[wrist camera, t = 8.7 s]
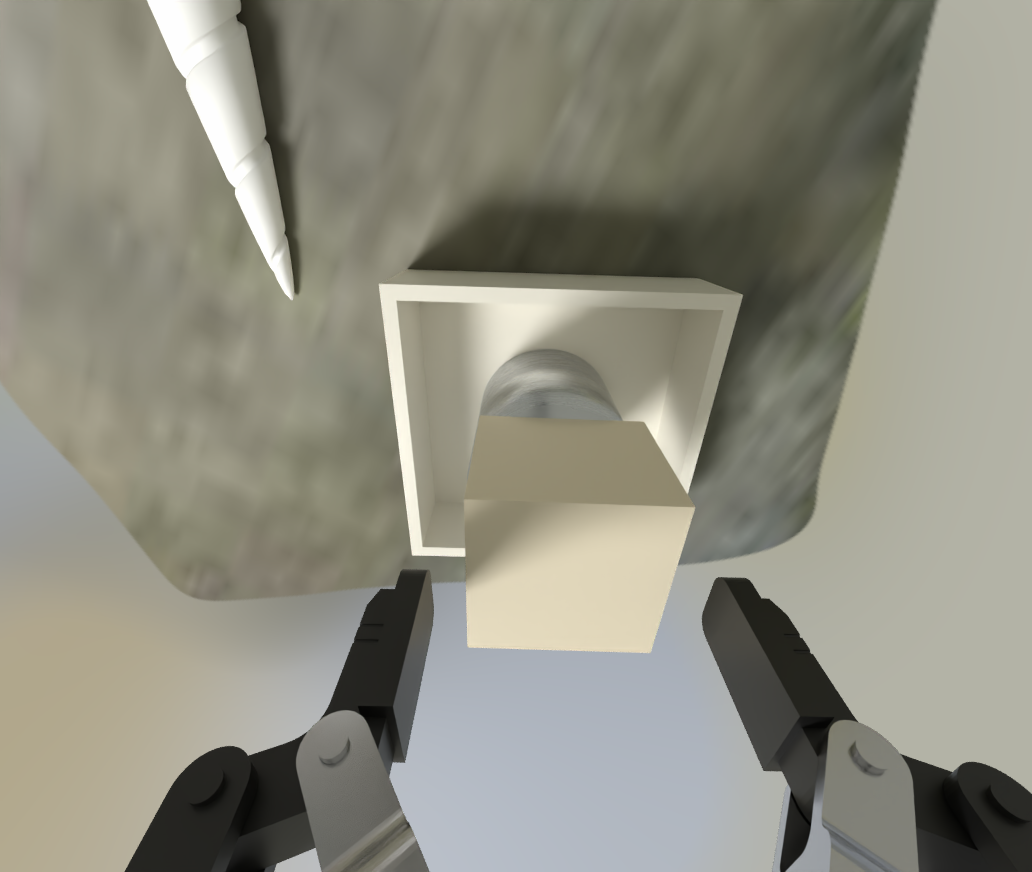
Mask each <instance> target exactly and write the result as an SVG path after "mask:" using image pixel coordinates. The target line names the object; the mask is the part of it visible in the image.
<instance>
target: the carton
mask: <svg viewBox="0 0 1032 872" xmlns="http://www.w3.org/2000/svg"><path fill="white" fill-rule="evenodd" d="M694 510H695V506H694V504H693V503H692V501H691V499H690V498H689V496H688V494H687V493H686V491H685V489H684V488H683V486H682V484H681V483H680V481H679V479H678V478H677V476H676V474H675V473H674V471H673V469H672V468H671V466H670V464H669V463H668V461H667V459H666V458H665V456H664V454H663V453H662V451H661V449H660V448H659V446H658V444H657V443H656V441H655V439H654V438H653V436H652V434H651V432H650V431H649V429H648V427H647V426H646V424H645V422H641V421H615V420H611V421H609V420H583V419H557V418H531V417H509V416H483V415H480V417H479V423H478V428H477V433H476V438H475V444H474V449H473V454H472V459H471V464H470V470H469V475H468V480H467V485H466V491H465V496H464V524H465V564H466V601H467V642H468V647H471V648H504V649H506V648H507V649H536V650H537V649H538V650H570V651H572V650H573V651H602V652H603V651H604V652H635V653H650V652H651V650H652V646H653V643H654V640H655V636H656V633H657V630H658V627H659V624H660V620H661V617H662V614H663V611H664V607H665V604H666V601H667V598H668V594H669V591H670V588H671V584H672V581H673V578H674V574H675V572H676V568H677V565H678V562H679V559H680V555H681V552H682V549H683V546H684V542H685V539H686V536H687V533H688V529H689V526H690V523H691V520H692V516H693V513H694Z"/></svg>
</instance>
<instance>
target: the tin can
mask: <svg viewBox="0 0 1032 872" xmlns="http://www.w3.org/2000/svg"><path fill="white" fill-rule="evenodd" d="M480 415H483V416H509V417H531V418H557V419H583V420H609V421H611V420H615V421H623V419H622V417H621V415H620V413H619V411H618V409H617V407H616V405H615V403H614V401H613V399H612V397H611V395H610V393H609V391H608V389H607V387H606V385H605V383H604V381H603V380H602V378H601V376H600V375H599V373H598V372H597V371H596V370H595V369H594V368H593V367H592V366H591V365H590V364H589V363H588V362H586V361H585V360H584V359H582V358H580V357H578V356H577V355H575V354H572V353H569V352H566V351H562V350H556V349H538V350H532V351H528V352H525V353H522V354H520V355H517V356H515V357H513V358H512V359H510V360H508V361H507V362H506V363H504V364H503V365H502V366H501V367H500V368H499V369H498V370H497V371H496V372H495V373H494V374H493V376H492V377H491V378H490V380H489V382H488V384H487V385H486V388H485V390H484V393H483V397H482V402H481V407H480V412H479V417H480ZM479 417H478V422H477V427H476V432H475V437H474V443H473V448H472V453H471V458H470V463H469V468H468V473H467V480H468V475H469V470H470V464H471V459H472V454H473V449H474V444H475V438H476V433H477V428H478V423H479Z"/></svg>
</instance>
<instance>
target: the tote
mask: <svg viewBox="0 0 1032 872" xmlns="http://www.w3.org/2000/svg"><path fill="white" fill-rule="evenodd" d="M379 289H380V297H381V305H382V313H383V321H384V329H385V337H386V345H387V354H388V362H389V370H390V378H391V386H392V394H393V402H394V410H395V418H396V427H397V435H398V443H399V451H400V459H401V467H402V475H403V483H404V491H405V500H406V508H407V516H408V524H409V532H410V540H411V548H412V555H425V556H465V524H464V496H465V491H466V485H467V473H468V468H469V463H470V458H471V453H472V448H473V443H474V437H475V432H476V427H477V422H478V417H479V412H480V407H481V402H482V397H483V393H484V390H485V388H486V385H487V384H488V382H489V380H490V378H491V377H492V376H493V374H494V373H495V372H496V371H497V370H498V369H499V368H500V367H501V366H502V365H503V364H504V363H506V362H507V361H508V360H510V359H512V358H513V357H515V356H517V355H520V354H522V353H525V352H528V351H532V350H538V349H556V350H562V351H566V352H569V353H572V354H575V355H577V356H578V357H580V358H582V359H584V360H585V361H586V362H588V363H589V364H590V365H591V366H592V367H593V368H594V369H595V370H596V371H597V372H598V373H599V375H600V376H601V378H602V380H603V381H604V383H605V385H606V387H607V389H608V391H609V393H610V395H611V397H612V399H613V401H614V403H615V405H616V407H617V409H618V411H619V413H620V415H621V417H622V419H623V421H641V422H645V424H646V426H647V427H648V429H649V431H650V432H651V434H652V436H653V438H654V439H655V441H656V443H657V444H658V446H659V448H660V449H661V451H662V453H663V454H664V456H665V458H666V459H667V461H668V463H669V464H670V466H671V468H672V469H673V471H674V473H675V474H676V476H677V478H678V479H679V481H680V483H681V484H682V486H683V488H684V489H685V491H686V493H687V494H688V491H689V488H690V484H691V481H692V477H693V473H694V470H695V466H696V463H697V459H698V455H699V452H700V448H701V445H702V441H703V437H704V434H705V430H706V427H707V423H708V419H709V416H710V412H711V409H712V405H713V401H714V398H715V394H716V391H717V387H718V383H719V380H720V376H721V373H722V369H723V365H724V362H725V358H726V355H727V351H728V348H729V344H730V340H731V337H732V333H733V330H734V326H735V322H736V319H737V315H738V312H739V308H740V304H741V301H742V297H743V295H742V294H739V293H737V292H734V291H731V290H729V289H726V288H723V287H721V286H718V285H715V284H713V283H710V282H707V281H705V280H702V279H699V278H673V277H641V276H608V275H575V274H542V273H510V272H477V271H444V270H411V269H407V270H405V271H403V272H401V273H399V274H397V275H395V276H393V277H391V278H389V279H387V280H385V281H383V282H382V283H380V284H379Z"/></svg>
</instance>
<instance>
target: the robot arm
mask: <svg viewBox="0 0 1032 872" xmlns="http://www.w3.org/2000/svg"><path fill="white" fill-rule="evenodd" d="M433 616H434V604H433V594H432V585H431V575H430V571H429V570H417V569H403V570H402V571H401V572H400V575H399V578H398V581H397V584H396V587H395V589H380V591H379V592H378V593H377V594H376V595H375V596H374V598H373V599H372V600H371V601H370V602H369V603H368V604H367V607H366V609H365V612H364V615H363V618H362V620H361V622H360V627H359V628H358V630H357V633H356V636H355V638H354V643H353V644H352V647H351V649H350V652H349V655H348V657H347V660H346V662H345V665H344V668H343V670H342V673H341V676H340V678H339V681H338V683H337V686H336V689H335V691H334V694H333V697H332V699H331V702H330V704H329V707H328V708H327V710H326V712H325V713H324V715H323V716H322V718H321V719H320V720H319V721H318V722H317V723H316V724H315V725H313V726H312V728H311V729H310V730H309V731H308V732H306V733H305V734H304V735H302V736H300V737H299V738H297V739H295V740H293V741H290V742H288V743H285V744H283V745H279V746H276V747H274V748H270V749H267V750H264V751H261V752H258V753H255V754H252V755H249V756H248V755H247V754H246V752H244V750H242V749H240V748H238V747H234V746H225V747H220V748H217V749H214V750H212V751H209V752H207V753H206V754H204V755H202V756H200V757H199V758H198V759H196V760H195V761H194V762H192V763H191V764H190V765H189V766H188V767H187V768H186V769H185V770H184V771H183V772H182V773H181V774H180V775H179V777H178V778H177V779H176V781H175V782H174V783H173V785H172V786H171V788H170V790H169V791H168V793H167V795H166V797H165V799H164V800H163V802H162V804H161V806H160V808H159V810H158V812H157V813H156V815H155V817H154V819H153V821H152V822H151V824H150V826H149V828H148V830H147V832H146V833H145V835H144V837H143V839H142V841H141V843H140V844H139V846H138V848H137V850H136V852H135V854H134V855H133V857H132V859H131V861H130V863H129V865H128V867H127V868H126V870H125V872H274V870H275V867H276V864H277V863H279V862H282V861H284V860H287V859H289V858H292V857H294V856H296V855H299V854H301V853H303V852H306V851H309V850H311V849H313V848H316V850H317V855H318V859H319V863H320V867H321V871H322V872H429V869H428V867H427V864H426V862H425V859H424V857H423V854H422V852H421V850H420V847H419V845H418V842H417V840H416V837H415V835H414V833H413V831H412V829H411V826H410V825H409V822H408V821H407V820H406V818H405V815H404V813H403V811H402V808H401V806H400V803H399V801H398V798H397V796H396V794H395V791H394V788H393V786H392V783H391V781H390V778H389V775H390V770H391V766H392V762H400V763H401V762H404V763H405V760H406V755H407V749H408V745H409V740H410V735H411V730H412V725H413V720H414V715H415V710H416V705H417V700H418V696H419V691H420V686H421V681H422V676H423V671H424V666H425V661H426V656H427V651H428V646H429V641H430V636H431V631H432V626H433ZM702 625H703V631H704V634H705V637H706V639H707V642H708V644H709V646H710V648H711V651H712V653H713V655H714V658H715V660H716V662H717V665H718V666H719V669H720V672H721V674H722V676H723V678H724V681H725V683H726V685H727V688H728V690H729V692H730V695H731V697H732V699H733V702H734V704H735V706H736V708H737V711H738V713H739V715H740V718H741V720H742V722H743V725H744V727H745V729H746V731H747V734H748V736H749V738H750V741H751V743H752V745H753V748H754V749H755V752H756V754H757V757H758V759H759V761H760V764H761V766H762V768H763V770H764V771H782V772H783V774H784V776H785V778H786V780H787V783H788V785H787V787H786V789H785V793H784V799H783V805H782V812H781V818H780V824H779V831H778V837H777V844H776V850H775V856H774V862H773V869H772V872H1032V794H1031V793H1030V792H1029V791H1028V790H1026V789H1025V788H1024V787H1023V786H1021V785H1020V784H1019V783H1018V782H1016V781H1015V780H1013V779H1012V778H1011V777H1009V776H1007V775H1006V774H1004V773H1002V772H1001V771H999V770H997V769H995V768H993V767H990V766H988V765H985V764H982V763H977V762H966V763H963V764H962V765H960V766H959V767H958V768H957V769H956V770H955V771H954V772H950V771H948V770H944V769H942V768H939V767H936V766H933V765H930V764H927V763H924V762H921V761H918V760H916V759H912V758H910V757H907V756H904V755H902V754H900V753H899V752H898V751H897V749H896V748H895V747H894V746H893V745H892V744H891V743H890V742H889V741H888V740H886V739H885V738H884V737H883V736H882V735H880V734H879V733H878V732H876V731H874V730H873V729H871V728H870V727H868V726H866V725H864V724H861V723H859V722H858V721H857V720H856V719H855V717H854V716H853V715H852V713H851V711H850V710H849V708H848V707H847V706H846V704H845V702H844V701H843V699H842V698H841V696H840V695H839V693H838V692H837V690H836V689H835V687H834V686H833V684H832V683H831V681H830V680H829V678H828V676H827V675H826V673H825V672H824V670H823V669H822V668H821V666H820V664H819V663H818V661H817V660H816V658H815V657H814V655H813V654H811V653H810V649H809V648H808V646H807V645H806V643H805V641H804V640H803V639H802V638H800V634H799V633H798V631H797V629H796V628H795V627H794V625H793V623H792V622H791V620H790V619H789V617H788V616H787V615H786V614H785V613H784V612H783V611H782V610H781V609H780V608H779V607H778V606H776V605H775V604H774V603H773V602H772V601H771V600H770V599H761V597H760V595H759V594H758V592H757V591H756V589H755V588H754V586H753V584H752V583H751V582H750V580H748V579H746V578H724V577H718V578H716V580H715V581H714V584H713V586H712V589H711V592H710V594H709V597H708V600H707V602H706V605H705V608H704V611H703V615H702Z"/></svg>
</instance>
